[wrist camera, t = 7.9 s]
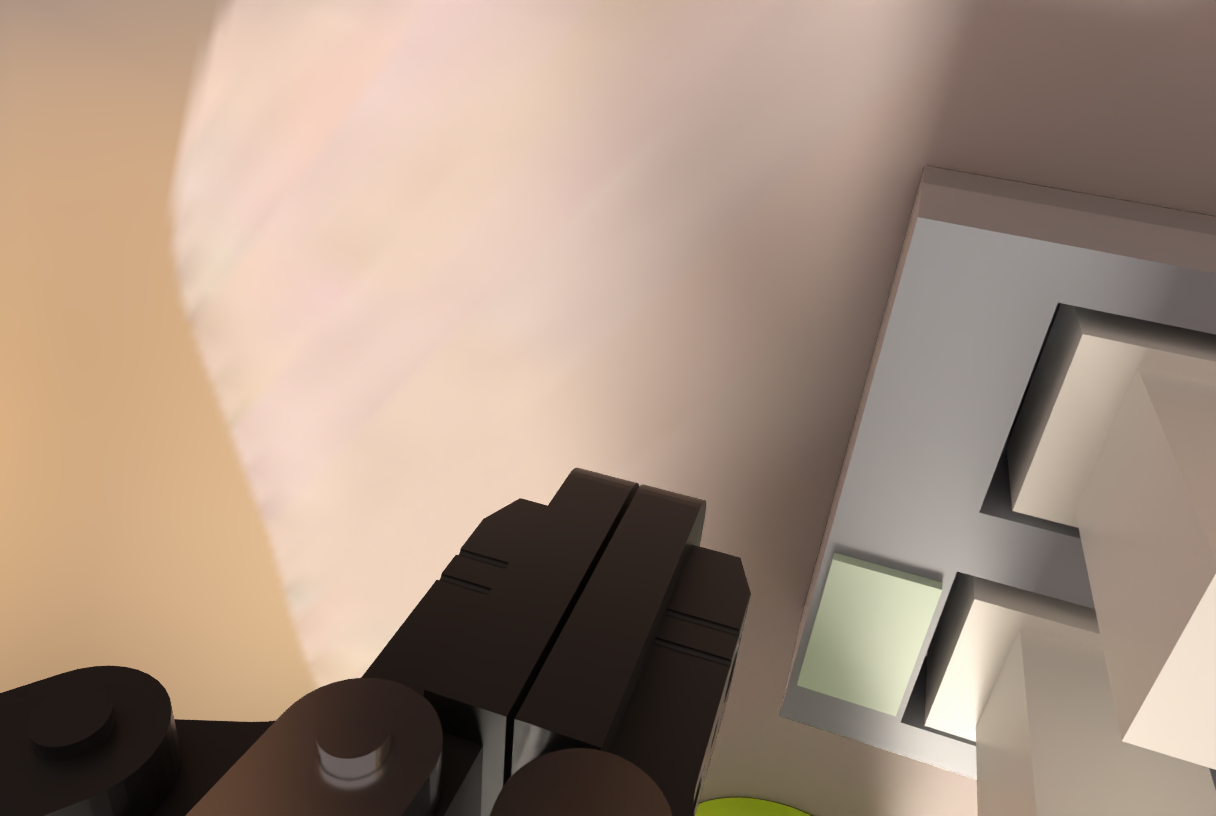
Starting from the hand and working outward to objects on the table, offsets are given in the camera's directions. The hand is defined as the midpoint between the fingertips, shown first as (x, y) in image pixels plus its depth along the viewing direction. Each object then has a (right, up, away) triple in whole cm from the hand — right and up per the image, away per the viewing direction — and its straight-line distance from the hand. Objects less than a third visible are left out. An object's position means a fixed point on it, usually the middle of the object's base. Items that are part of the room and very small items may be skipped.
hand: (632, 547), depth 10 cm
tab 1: (+9, +2, +4) cm, 10 cm away
